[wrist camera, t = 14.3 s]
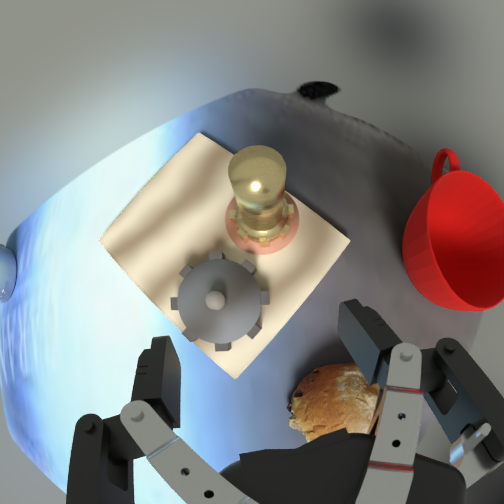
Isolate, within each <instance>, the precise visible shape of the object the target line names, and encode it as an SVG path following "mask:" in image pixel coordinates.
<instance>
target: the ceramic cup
mask: <svg viewBox="0 0 504 504" xmlns="http://www.w3.org/2000/svg"><path fill="white" fill-rule="evenodd" d="M447 156H448V159H449V163H450V172H448V173H446V174H444V175H442V168H443V164H444V161H445V159H446V157H447ZM402 254H403V260H404V265H405V268H406V272H407V274H408V276H409V278H410V280H411V282H412V283H413V285H414V286H415V288H416V289H417V290H418V291H419V292H420V293H421V294H422V295H423V296H424V297H425V298H426V299H428V300H430V301H431V302H433V303H434V304H436V305H439V306H442V307H445V308H448V309H452V310H459V311H484V310H487V309H490V308H493V307H494V306H496V305H497V304H499V303H500V302H501V301H502V300H503V299H504V203H503V201H502V200H501V198H500V197H499V195H498V194H497V193H496V192H495V191H494V189H493V188H492V187H491V186H490V185H489V184H488V183H486V182H485V181H484V180H483V179H481V178H480V177H478V176H477V175H475V174H472V173H470V172H467V171H460V165H459V160H458V157H457V155H456V154H455V152H453V151H452V150H450V149H441V150H440V151H439V152H438V153H437V155H436V158H435V160H434V163H433V169H432V186H431V187H430V188H429V189H428V190H427V191H426V192H425V193H424V195H423V196H422V197H421V198H420V200H419V201H418V202H417V204H416V206H415V207H414V209H413V211H412V212H411V214H410V216H409V218H408V221H407V224H406V227H405V230H404V236H403V242H402Z"/></svg>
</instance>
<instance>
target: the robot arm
mask: <svg viewBox="0 0 504 504" xmlns="http://www.w3.org/2000/svg"><path fill="white" fill-rule="evenodd" d="M15 281H16V260H15V256H14V254H13V252H12V251H11V250H10V249H8V248H5V246H4V245H2V244H0V302H5V301H7V300H8V299H9V298H10V296H11V294H12V292H13V289H14V286H15ZM338 333H339V336H340V339H341V340H342V342H343V344H344V345H345V347H346V348H347V350H348V352H349V353H350V355H351V356H352V358H353V360H354V361H355V363H356V364H357V366H358V368H359V369H360V371H361V373H362V374H363V376H364V377H365V379H366V381H367V382H368V384H369V386H371V385H374V384H376V383H378V384H379V386H380V388H379V391H378V396H377V400H376V404H375V408H374V412H373V416H372V420H371V423H370V426H369V429H368V431H367V434H365V433H348V432H347V429H346V427H345V428H342V429H339V430H336V431H333V432H330V433H327V434H324V435H321V436H319V437H317V438H315V439H314V440H312V441H310V442H308V443H306V444H304V445H302V446H301V447H299V448H296V449H265V450H260V451H254V452H249V453H242V454H239V456H240V460H239V461H237V462H234V463H232V464H230V465H229V466H227V467H226V468H224V469H223V470H222V471H221V472H220V473H218V472H216V471H215V470H214V469H213V468H212V467H211V466H210V465H208V464H207V463H206V462H205V461H204V460H203V459H202V458H201V457H200V456H199V455H198V454H196V453H195V452H194V451H193V450H192V449H191V448H190V447H189V446H188V445H187V444H186V443H185V442H184V441H183V440H182V439H181V438H180V437H179V436H177V435H176V434H175V433H174V432H173V428H180V388H181V366H180V361H179V358H178V355H177V353H176V351H175V348H174V346H173V343H172V341H171V338H170V336H160V337H153V339H152V343H151V349H144V351H143V352H142V354H141V355H140V357H139V359H138V364H137V369H136V375H135V379H134V385H133V391H132V397H131V402H130V403H128V404H127V405H125V406H124V407H123V409H122V411H121V413H120V414H119V415H117V416H113V417H110V418H106V419H103V420H102V419H101V418H100V417H99V416H98V415H96V414H86V415H84V416H82V417H81V418H80V419H79V420H78V421H77V423H76V426H75V432H74V437H73V443H72V450H71V457H70V464H69V473H68V483H67V497H66V504H135V503H134V479H133V459H137V458H140V457H143V456H147V457H146V458H147V460H148V461H149V462H150V464H151V465H152V466H153V467H154V468H155V470H156V471H157V472H158V473H159V474H160V475H161V477H162V478H163V479H164V480H165V481H166V482H167V483H168V484H169V486H170V487H171V488H172V489H173V490H174V491H175V492H176V493H177V494H178V495H179V496H180V497H181V498H182V499H183V500H184V501H185V502H186V503H187V504H466V489H467V488H468V487H469V486H471V485H472V484H473V483H475V482H476V481H477V480H479V479H481V478H482V477H484V476H485V475H487V474H488V473H490V472H491V471H492V470H494V469H495V468H496V467H498V466H499V465H500V464H502V463H503V462H504V398H503V397H502V395H501V394H500V393H499V391H498V390H497V389H496V387H495V386H494V385H493V383H492V382H491V381H490V380H489V378H488V377H487V376H486V374H485V373H484V372H483V371H482V369H481V368H480V367H479V366H478V365H477V363H476V362H475V361H474V360H473V359H472V357H471V356H470V355H469V354H468V352H467V351H466V350H465V349H464V348H463V347H462V345H461V344H460V343H459V342H458V341H456V340H455V339H452V338H443V339H440V340H439V341H438V342H437V344H436V347H435V348H430V349H423V350H419V348H418V347H416V346H415V345H413V344H410V343H403V342H402V341H401V340H400V339H399V337H398V336H397V335H396V334H395V333H394V331H393V330H392V329H391V328H390V327H389V326H388V324H386V322H385V321H384V320H383V319H382V317H381V316H380V315H379V314H378V313H377V312H376V311H375V310H373V309H371V308H370V307H368V306H365V307H363V306H362V305H361V304H360V303H359V301H358V300H357V299H352V300H348V301H344V302H341V303H340V306H339V318H338ZM448 380H449V381H450V383H451V384H452V385H453V387H454V388H455V390H456V391H457V393H456V392H455V390H454V389H453V387H452V386H451V385H450V383H449V382H448ZM423 397H424V398H425V400H426V401H427V403H428V405H429V406H430V408H431V410H432V411H433V413H434V415H435V416H436V418H437V420H438V421H439V423H440V425H441V426H442V428H443V430H444V432H445V434H446V435H447V437H448V439H449V441H450V442H451V444H452V446H451V448H450V462H451V463H452V465H449V464H446V463H443V462H440V461H437V460H434V459H431V458H428V457H426V456H423V455H420V454H417V453H415V452H416V447H417V441H418V435H419V429H420V422H421V414H422V405H423Z"/></svg>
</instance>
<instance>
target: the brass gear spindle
mask: <svg viewBox="0 0 504 504" xmlns="http://www.w3.org/2000/svg"><path fill="white" fill-rule="evenodd" d="M228 176H229V179H230V183H231V186H232V189H233V192H234V195H235V199H236V202H237V203H236V206H235V209H234V210H230V220H231V222H232V224H233V225H238V227H239V230H238V231H237V234H238V236H239V238H240V239H241V240H242V241H244V242H245V243H247V242H248V241H249V240H251V241H253V242H257V243H260V248H264V247H270V243H269V242H272V241H274V240H276V239H278V238H279V237H280V238H281V239H282V240H284V239H285V237H286V236H287V235H288V234H289V230H290V227H289V226H288V225H287V224H288V220H293V216H294V208H293V204H289V205H288V203H287V201H286V199H285V181H286V163H285V161H284V159H283V157H282V156H281V155H280V154H279V153H278V152H277V151H276V150H274V149H272V148H270V147H267V146H262V145H254V146H249V147H246V148H243V149H241V150H240V151H238V152H237V153H236V154H235V155H234V156H233V157H232V159H231V160H230V163H229V165H228Z"/></svg>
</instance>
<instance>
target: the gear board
mask: <svg viewBox="0 0 504 504" xmlns="http://www.w3.org/2000/svg"><path fill="white" fill-rule="evenodd" d="M233 156H234V155H233V154H232V153H230V152H229V151H227V150H226V149H224V148H223V147H221V146H220V145H218V144H217V143H215V142H213V141H212V140H210V139H209V138H207V137H206V136H204V135H202V134H201V133H197V134H196V135H195V136H194V137H193V138H192V139H191V140H190V141H189V142H188V143H187V144H186V145H185V146H184V147H183V148H182V149H180V150H179V151H178V152H177V153H176V154H175V155H174V156H173V157H172V158H171V159H170V160H169V161H168V162H167V163H166V164H165V165H164V166H163V167H162V168H161V169H160V171H159V172H158V173H157V174H156V175H155V176H154V177H153V178H152V179H151V180H150V181H149V182H148V183H147V184H146V185H145V186H144V188H143V189H142V190H141V191H140V192H139V193H138V194H137V195H136V196H135V198H134V199H133V200H132V201H131V202H130V203H129V204H128V206H127V207H126V208H125V209H124V210H123V211H122V213H121V214H120V215H119V216H118V217H117V219H116V220H115V221H114V222H113V224H112V225H111V226H110V227H109V229H108V230H107V231H106V232H105V234H104V235H103V236H102V237H101V239H100V240H99V242H100V243H101V244H102V246H103V247H104V248H105V249H106V250H107V252H108V253H109V254H110V255H111V256H112V258H113V259H114V260H115V261H116V262H117V264H118V265H119V266H120V267H121V268H122V269H123V270H124V272H125V273H126V274H127V275H128V276H129V277H130V278H131V280H132V281H133V282H134V283H135V284H136V285H137V286H138V287H139V288H140V289H141V291H142V292H143V293H144V294H145V295H146V296H147V297H148V298H149V299H150V300H151V301H152V302H153V303H154V304H155V305H156V306H157V307H158V308H159V309H160V310H161V312H162V313H163V314H164V315H165V316H166V317H167V318H168V319H169V320H170V321H171V322H172V323H173V324H174V325H175V326H177V327H178V328H179V329H180V330H181V331H182V334H183V335H184V336H185V337H186V338H187V339H188V340H189V341H190V342H193V343H194V344H195V345H197V346H198V347H199V348H200V349H201V350H202V351H203V352H204V353H205V354H206V355H208V356H209V357H210V358H211V359H212V360H213V361H214V362H215V363H217V364H218V365H219V366H220V367H221V368H222V369H224V370H225V371H226V372H227V373H228V374H229V375H231V376H232V377H233V378H234V379H236V378H237V377H238V376H239V375H240V374H241V373H242V372H243V371H244V370H245V369H246V367H247V366H248V365H249V364H250V363H251V362H252V361H253V360H254V359H255V358H256V357H257V355H258V354H259V353H260V352H261V351H262V350H263V349H264V348H265V346H266V345H267V344H268V343H269V342H270V341H271V340H272V339H273V337H274V336H275V335H276V334H277V333H278V332H279V330H280V329H281V328H282V327H283V326H284V325H285V323H286V322H287V321H288V320H289V319H290V318H291V316H292V315H293V314H294V313H295V312H296V310H297V309H298V308H299V307H300V305H301V304H302V303H303V302H304V301H305V299H306V298H307V297H308V296H309V294H310V293H311V292H312V291H313V289H314V288H315V287H316V286H317V284H318V283H319V282H320V281H321V279H322V278H323V277H324V275H325V274H326V273H327V272H328V270H329V269H330V268H331V266H332V265H333V264H334V262H335V261H336V260H337V258H338V257H339V256H340V254H341V253H342V252H343V250H344V249H345V248H346V246H347V245H348V244H349V242H350V240H349V239H348V238H347V237H345V236H344V235H343V234H342V233H340V232H339V231H338V230H337V229H335V228H334V227H333V226H332V225H330V224H329V223H328V222H326V221H325V220H324V219H323V218H321V217H320V216H319V215H317V214H316V213H315V212H313V211H312V210H311V209H310V208H308V207H307V206H306V205H304V204H303V203H302V202H300V201H299V200H298V199H296V198H295V197H293V196H292V195H291V194H289V193H288V192H287V191H285V199H286V201H287V203H288V205H289V204H293V208H294V216H293V220H288V224H287V225H288V226H289V227H290V230H289V234H288V235H287V236H286V237H285V239H284V240H282V239H281V238H280V237H279V238H278V239H276V240H274V241H272V242H269V243H270V247H264V248H260V243H257V242H253V241H251V240H249V241H248V242H247V243H245V242H244V241H242V240H241V239H240V238H239V236H238V234H237V231H238V230H239V227H238V225H233V224H232V222H231V220H230V210H234V209H235V206H236V203H237V202H236V199H235V195H234V192H233V189H232V186H231V183H230V179H229V176H228V165H229V163H230V160H231V159H232V157H233Z"/></svg>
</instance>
